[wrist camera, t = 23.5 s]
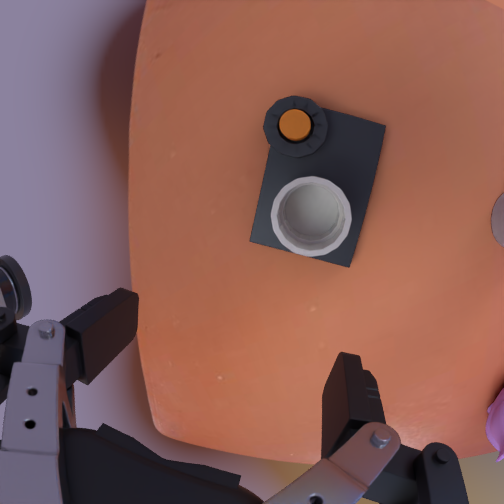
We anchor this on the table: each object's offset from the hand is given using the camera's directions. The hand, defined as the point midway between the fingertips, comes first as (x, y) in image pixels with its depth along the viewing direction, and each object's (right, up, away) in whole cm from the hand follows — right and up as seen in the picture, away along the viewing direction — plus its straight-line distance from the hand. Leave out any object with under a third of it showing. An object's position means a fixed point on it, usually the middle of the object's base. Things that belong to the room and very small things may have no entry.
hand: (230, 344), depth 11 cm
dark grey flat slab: (+7, +10, +17) cm, 21 cm away
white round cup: (+6, +7, +17) cm, 19 cm away
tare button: (+5, +14, +14) cm, 21 cm away
